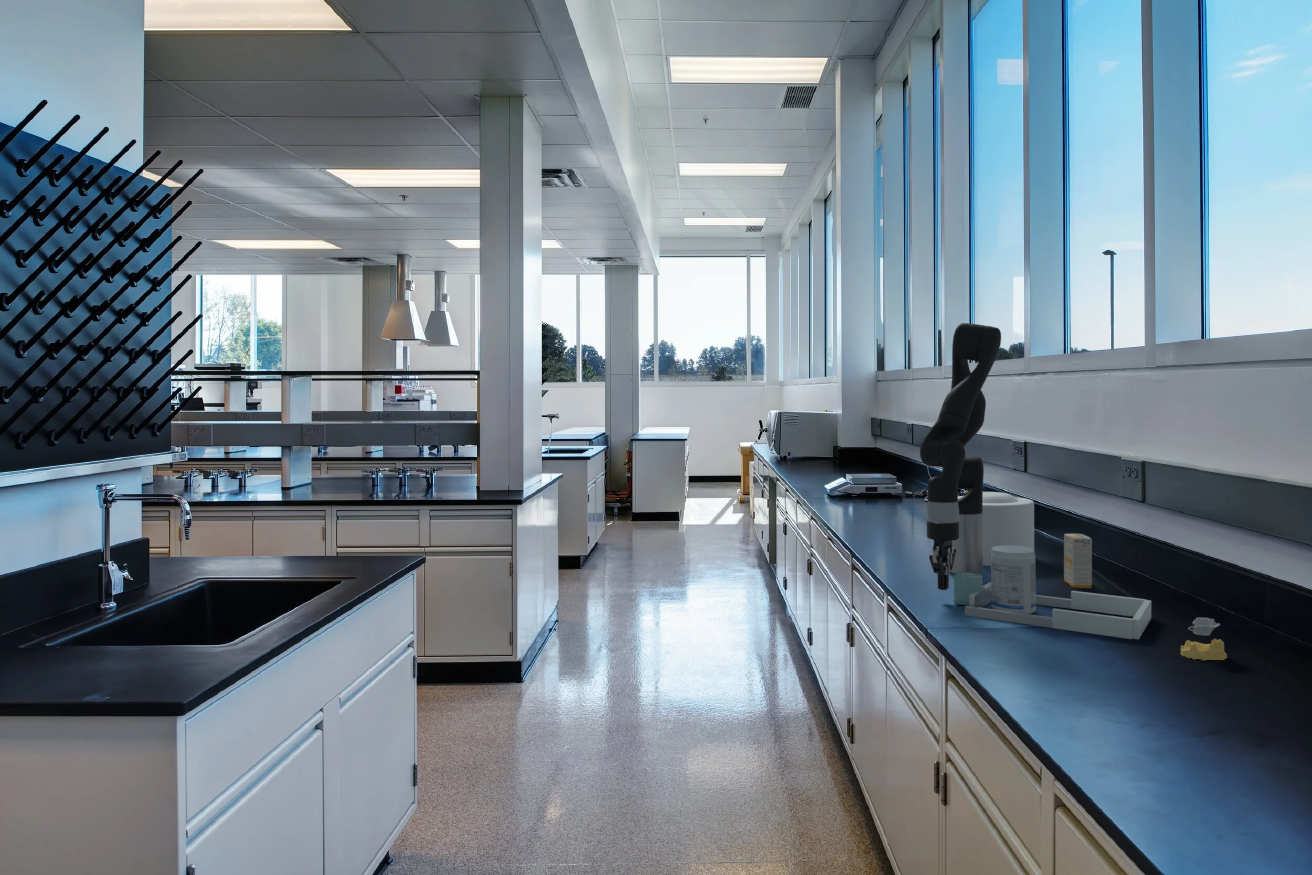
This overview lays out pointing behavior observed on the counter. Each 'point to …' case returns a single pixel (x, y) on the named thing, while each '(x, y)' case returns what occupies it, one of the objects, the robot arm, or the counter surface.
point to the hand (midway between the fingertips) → (943, 589)
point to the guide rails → (1021, 617)
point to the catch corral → (1104, 623)
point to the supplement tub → (1013, 579)
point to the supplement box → (1078, 560)
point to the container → (1006, 522)
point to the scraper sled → (971, 590)
